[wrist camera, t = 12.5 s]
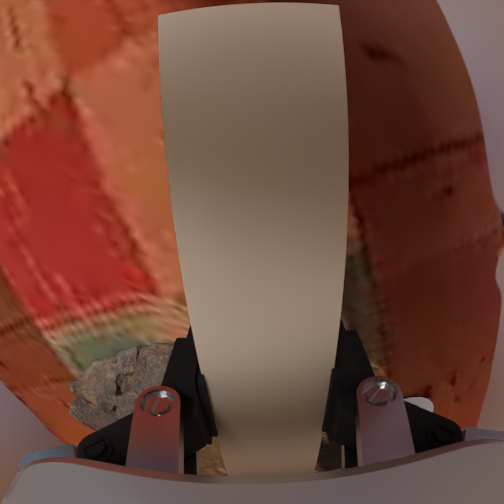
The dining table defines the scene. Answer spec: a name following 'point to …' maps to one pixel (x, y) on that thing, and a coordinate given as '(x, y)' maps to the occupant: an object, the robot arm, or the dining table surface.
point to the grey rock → (117, 384)
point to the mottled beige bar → (260, 216)
